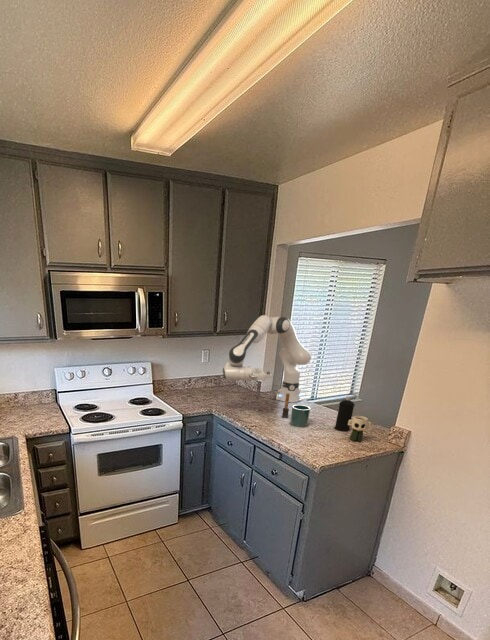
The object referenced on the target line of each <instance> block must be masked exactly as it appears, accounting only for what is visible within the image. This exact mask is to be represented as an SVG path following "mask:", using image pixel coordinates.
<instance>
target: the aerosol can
mask: <svg viewBox="0 0 490 640" xmlns="http://www.w3.org/2000/svg"><path fill="white" fill-rule="evenodd" d="M338 404H339V405H338V410H337V416H336V421H335V426H334V429H335V430H336V431H340V432H349V431H350V429H351V428H350V427H351V426H350V425H348V421H349V420H352V419H353V414H354V412H353V411H354V409H355V405H356V404H355V403H354V402H353V401H352V400H351V396H349V395H347V396H346V397H345V399H343V400H341V401H339V402H338ZM350 424H352V422H350Z"/></svg>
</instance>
